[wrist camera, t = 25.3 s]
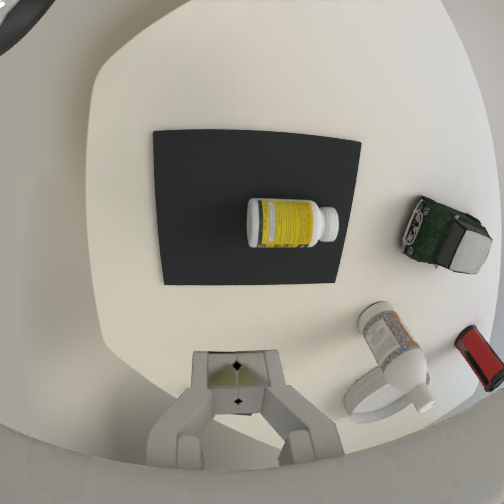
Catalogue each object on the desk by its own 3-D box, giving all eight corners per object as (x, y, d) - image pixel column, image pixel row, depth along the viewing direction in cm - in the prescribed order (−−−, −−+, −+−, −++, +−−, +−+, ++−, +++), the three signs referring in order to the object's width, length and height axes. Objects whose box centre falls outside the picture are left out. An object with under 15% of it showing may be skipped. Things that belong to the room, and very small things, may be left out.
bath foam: (394, 317, 46) (447, 400, 29) (363, 336, 47) (407, 425, 30) (387, 293, 43) (448, 385, 25) (352, 315, 44) (402, 414, 27)
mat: (164, 282, 37) (164, 285, 37) (154, 131, 28) (153, 131, 27) (333, 280, 40) (334, 283, 40) (359, 141, 31) (361, 142, 30)
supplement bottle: (250, 255, 29) (338, 253, 30) (251, 202, 27) (344, 205, 28) (245, 239, 34) (322, 239, 35) (247, 195, 33) (326, 197, 34)
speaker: (459, 329, 53) (496, 380, 37) (478, 320, 53) (514, 366, 37) (450, 349, 57) (482, 398, 41) (469, 340, 57) (501, 385, 41)
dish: (327, 398, 57) (333, 415, 53) (407, 343, 51) (418, 359, 47) (365, 415, 66) (370, 428, 62) (429, 371, 60) (437, 384, 56)
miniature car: (411, 190, 34) (446, 212, 27) (476, 217, 38) (505, 237, 31) (390, 246, 38) (418, 276, 31) (457, 260, 42) (483, 284, 35)
